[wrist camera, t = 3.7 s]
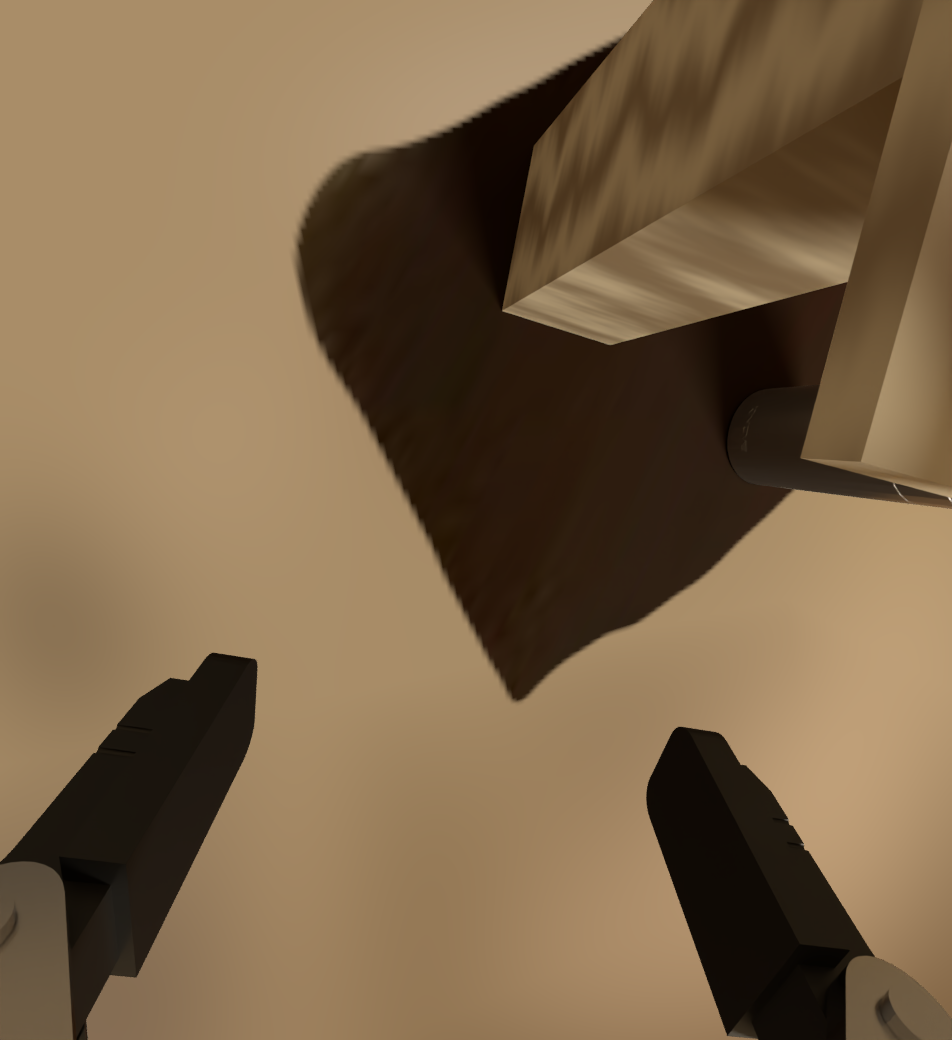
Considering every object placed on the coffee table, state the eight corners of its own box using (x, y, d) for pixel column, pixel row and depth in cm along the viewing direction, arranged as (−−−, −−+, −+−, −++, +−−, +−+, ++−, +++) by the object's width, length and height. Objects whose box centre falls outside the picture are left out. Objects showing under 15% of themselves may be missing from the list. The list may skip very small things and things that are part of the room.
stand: (521, 140, 37) (1206, -757, 9) (653, 199, 41) (1399, -286, 13) (465, 437, 39) (861, 461, 11) (594, 464, 44) (1115, 531, 16)
